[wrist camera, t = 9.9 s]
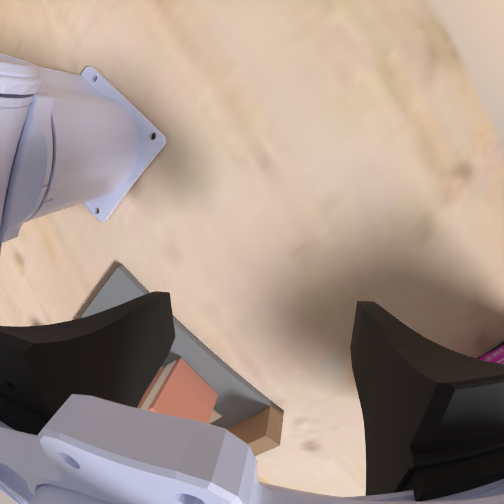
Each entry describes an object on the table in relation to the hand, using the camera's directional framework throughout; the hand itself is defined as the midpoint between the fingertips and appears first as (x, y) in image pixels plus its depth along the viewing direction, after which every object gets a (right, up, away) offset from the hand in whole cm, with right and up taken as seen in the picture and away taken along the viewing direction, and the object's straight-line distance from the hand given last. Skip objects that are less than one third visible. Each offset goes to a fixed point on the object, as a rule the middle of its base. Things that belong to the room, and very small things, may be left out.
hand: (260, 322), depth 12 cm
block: (-8, -10, +14) cm, 19 cm away
